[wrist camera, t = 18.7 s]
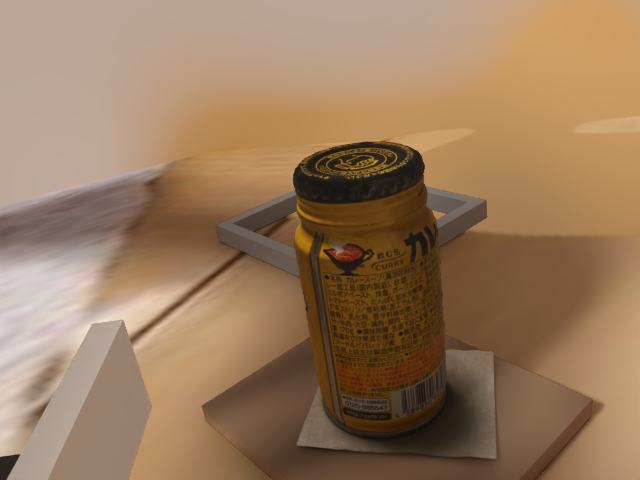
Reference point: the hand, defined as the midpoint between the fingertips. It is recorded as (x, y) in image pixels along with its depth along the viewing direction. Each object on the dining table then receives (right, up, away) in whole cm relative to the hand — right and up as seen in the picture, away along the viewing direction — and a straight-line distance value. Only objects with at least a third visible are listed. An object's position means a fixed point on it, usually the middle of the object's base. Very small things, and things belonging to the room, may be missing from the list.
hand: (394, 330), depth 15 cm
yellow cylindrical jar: (+2, -5, +14) cm, 15 cm away
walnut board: (+1, -6, +14) cm, 15 cm away
